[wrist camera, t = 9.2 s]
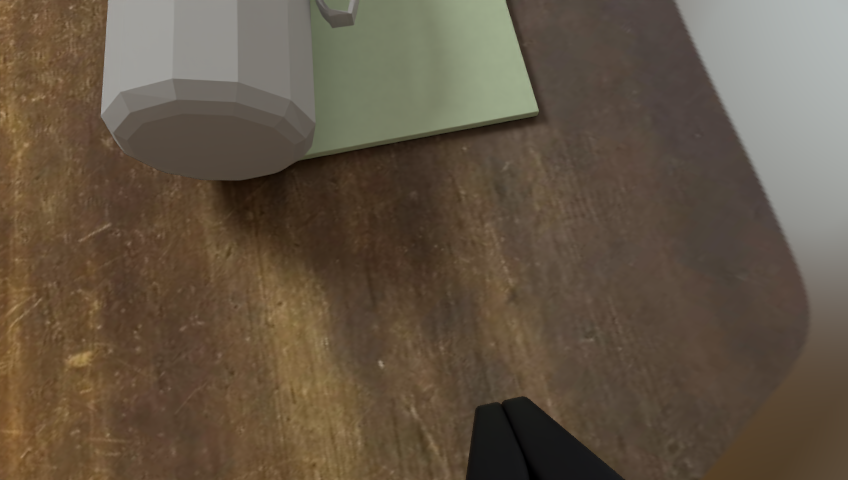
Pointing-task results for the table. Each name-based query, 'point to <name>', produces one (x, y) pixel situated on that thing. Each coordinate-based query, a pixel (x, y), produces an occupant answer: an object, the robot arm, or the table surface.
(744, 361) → the table surface
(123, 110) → the water bottle
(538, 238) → the table surface
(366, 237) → the table surface
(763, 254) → the table surface
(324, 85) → the mat
